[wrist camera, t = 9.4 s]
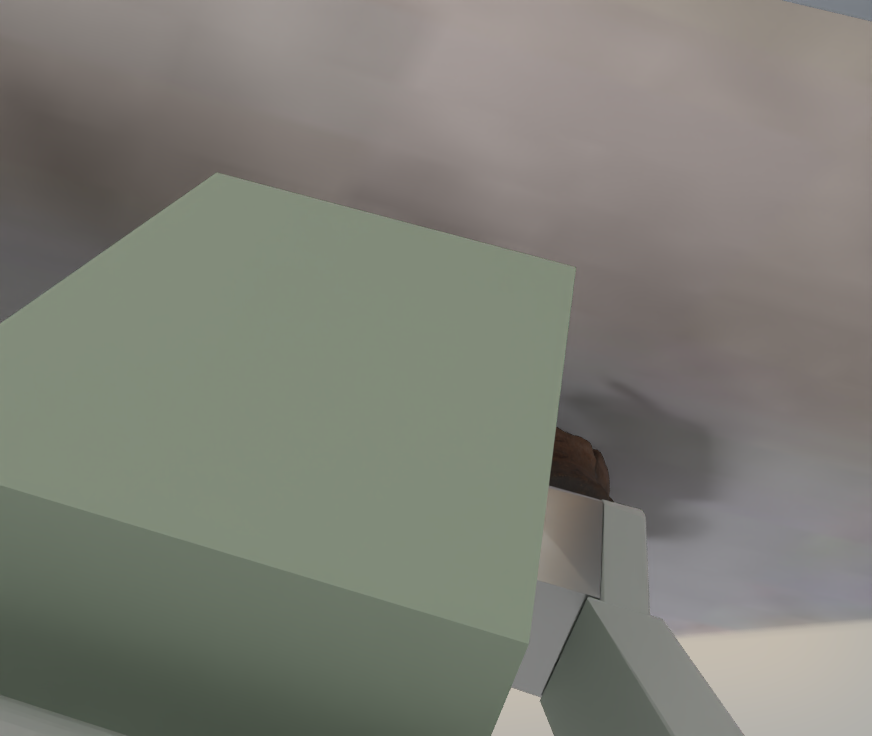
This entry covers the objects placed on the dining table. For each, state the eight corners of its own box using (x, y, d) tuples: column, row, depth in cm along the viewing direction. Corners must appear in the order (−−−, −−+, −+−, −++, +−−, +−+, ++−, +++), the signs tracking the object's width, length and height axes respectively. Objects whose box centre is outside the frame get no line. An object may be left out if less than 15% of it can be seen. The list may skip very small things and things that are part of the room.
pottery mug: (399, 307, 29) (472, 433, 22) (586, 365, 33) (694, 484, 27) (287, 540, 33) (321, 703, 27) (466, 564, 38) (533, 709, 31)
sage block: (490, 530, 13) (405, 940, 8) (209, 449, 13) (-43, 792, 8) (575, 266, 10) (528, 643, 5) (216, 172, 10) (-163, 436, 5)
